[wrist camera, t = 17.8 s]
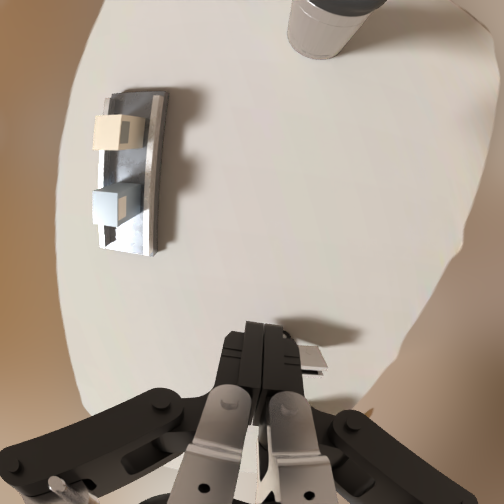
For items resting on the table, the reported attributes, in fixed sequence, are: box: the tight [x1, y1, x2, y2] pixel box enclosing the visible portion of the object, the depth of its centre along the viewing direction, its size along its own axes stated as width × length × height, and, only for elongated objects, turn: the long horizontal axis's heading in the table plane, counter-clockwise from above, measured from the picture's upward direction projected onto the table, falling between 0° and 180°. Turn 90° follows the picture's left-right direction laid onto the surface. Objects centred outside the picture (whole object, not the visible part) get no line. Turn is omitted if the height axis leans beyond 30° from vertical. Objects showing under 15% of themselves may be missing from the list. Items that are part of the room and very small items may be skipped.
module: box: [93, 182, 141, 227], centre depth 39 cm, size 5×5×8 cm
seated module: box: [93, 114, 146, 150], centre depth 35 cm, size 5×5×8 cm
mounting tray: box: [98, 91, 169, 256], centre depth 42 cm, size 28×10×4 cm, turn 172°
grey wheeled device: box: [283, 331, 328, 378], centre depth 49 cm, size 4×10×15 cm
